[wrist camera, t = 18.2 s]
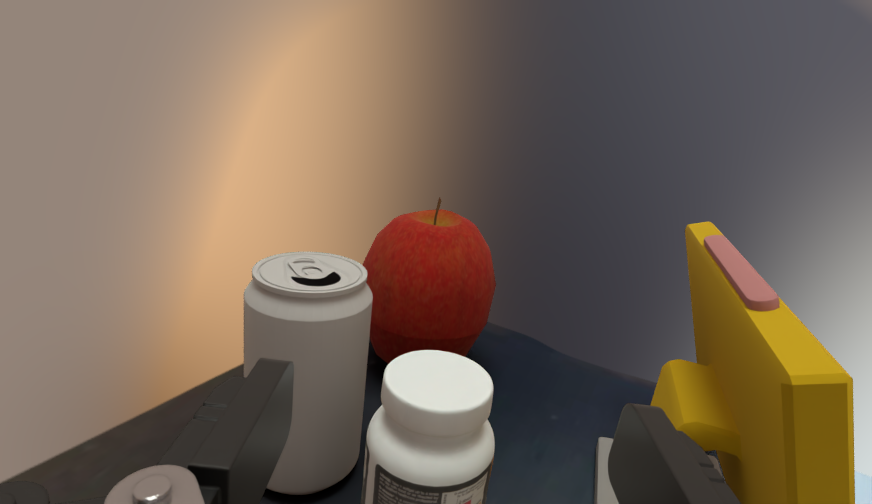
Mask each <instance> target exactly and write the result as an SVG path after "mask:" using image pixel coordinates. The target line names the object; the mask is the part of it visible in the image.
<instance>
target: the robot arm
mask: <svg viewBox="0 0 872 504" xmlns="http://www.w3.org/2000/svg"><path fill="white" fill-rule="evenodd" d="M293 383H294V364H293V362H292V361H286V360H278V359H269V358H260V359H259V360H258V361H257V363H256V364H255V366H254V367H253V369H252V370H251V372H250V373H249V375H248V376H247V378H246V377H238V376H233V377H231V378H230V379H228V380H226V381H225V382H223V383H222V384H220V385H219V386H217V387H215V388H214V390H213V391H212V392H211V394H210V395H209V396H208V398H207V399H206V400H205V401H204V403H203V406H201V407H200V408H199V409H198V411H197V412H196V413H195V415H194V417H193V419H191V420H190V421H189V423H188V424H187V425H186V427H185V428H184V429H183V430H182V432H181V433H180V434H179V436H178V437H177V438H176V440H175V441H174V442H173V444H172V445H171V446H170V448H169V449H168V450H167V452H166V453H165V454H164V456H163V457H162V458H161V459H160V461H159V462H158V463H157V465H156V466H152V467H148V468H145V469H142V470H139V471H137V472H135V473H133V474H131V475H129V476H127V477H126V478H124V479H123V480H122V481H120V482H119V483H118V484H117V485H116V486H115V487H114V488H113V489H112V490H111V491H110V493H109V494H108V496H104V497H99V498H94V499H87V500H79V501H72V502H65V503H57V504H259V503H260V501H261V498H262V496H263V494H264V492H265V489H266V487H267V485H268V483H269V480H270V478H271V476H272V474H273V471H274V469H275V467H276V465H277V462H278V460H279V458H280V456H281V453H282V451H283V449H284V447H285V444H286V442H287V439H288V436H289V432H290V427H291V421H292V406H293ZM608 475H609V480H610V483H611V486H612V488H613V491H614V493H615V495H616V498H617V500H618V503H619V504H741V503H740V501H739V500H738V498H737V497H736V495H735V494H734V493H733V491H732V490H731V488H730V487H729V486H728V484H726V483H724V478H723V477H722V476H721V474H720V473H719V471H718V470H717V469H715V468H714V464H713V463H712V461H711V460H710V459H709V457H708V456H707V454H706V453H705V451H704V450H703V449H702V447H701V446H699V445H698V444H697V443H696V442H695V441H693V440H692V439H691V438H690V437H689V436H687V435H686V434H685V433H684V432H683V431H677V430H676V429H675V427H674V426H673V424H672V423H671V421H670V420H669V418H668V417H667V415H666V414H665V412H664V411H663V410H662V409H661V408H660V407H656V406H648V405H639V404H631V403H627V404H626V405H625V406H624V407H623V409H622V412H621V415H620V419H619V422H618V426H617V429H616V432H615V436H614V439H613V442H612V446H611V449H610V453H609V457H608ZM0 504H50V500H49V494H48V492H47V490H46V489H45V488H44V487H43V486H41V485H40V484H37V483H34V482H28V481H15V482H7V483H2V484H0Z"/></svg>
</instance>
